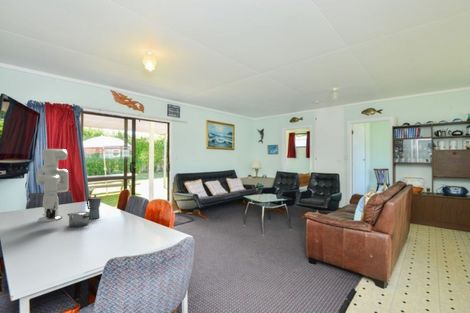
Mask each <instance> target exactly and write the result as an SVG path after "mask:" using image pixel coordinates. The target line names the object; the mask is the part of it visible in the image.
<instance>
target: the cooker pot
mask: <svg viewBox="0 0 470 313" xmlns="http://www.w3.org/2000/svg"><path fill="white" fill-rule="evenodd" d="M67 216H68V228H71V229H72V228H73V229H74V228H83V227H86V226H88V225H90V219H89V217H91V215H89V211H78V212H77V211H75V212H70V213H67Z"/></svg>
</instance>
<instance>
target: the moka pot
mask: <svg viewBox="0 0 470 313" xmlns="http://www.w3.org/2000/svg"><path fill="white" fill-rule="evenodd" d="M101 200H102V197H101V196H97V194H94V195H93V196H92V197H89V198H87V200H86V206H87V210H88V212H89V215H91V217H89V220H94V219H99V218H100V217H101V216H100V206H101Z"/></svg>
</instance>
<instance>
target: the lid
mask: <svg viewBox="0 0 470 313" xmlns="http://www.w3.org/2000/svg"><path fill="white" fill-rule="evenodd" d="M50 213H51V210H49V211H48V217H46V216H44V215H43V216H41V217H40V218H38V220H37V221H38V223H52V222H57V221H60V220H62V219H63V215H61V214H58V215H55V217H53V218H50Z"/></svg>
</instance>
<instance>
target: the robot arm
mask: <svg viewBox="0 0 470 313" xmlns="http://www.w3.org/2000/svg"><path fill="white" fill-rule="evenodd" d="M41 156H42V160H43V161H44V164H43V165H41V167H40V168H39V169H37V172H36V177H35V181H36V184H37V186H42V187H43V189H42V190H43V196H42V208H43V209H44V213H42V216H43V217H44V216H46V217H48V211H49V210H51V213H50V218H53V217H55V215H59V198H60V197H59V196H58V193H65V192H68V191H69V188H70V185H69V184H70V183H69V181H70V180H69V176H70V175H69V170H67V169H65V168H62V169H61V168H60V169H59V161H65V160H67V159H68V151H67V149H64V148H45V149H42V150H41ZM44 173H45V174H44Z"/></svg>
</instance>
